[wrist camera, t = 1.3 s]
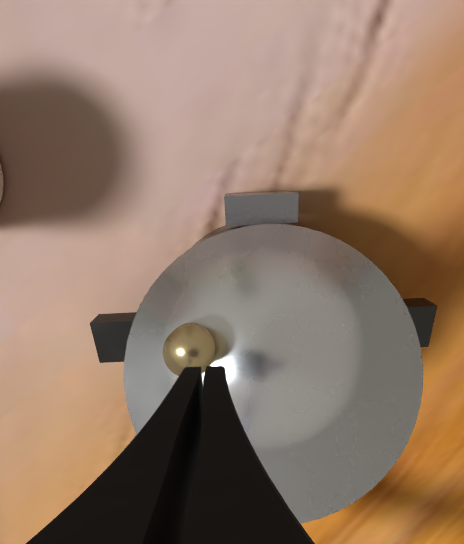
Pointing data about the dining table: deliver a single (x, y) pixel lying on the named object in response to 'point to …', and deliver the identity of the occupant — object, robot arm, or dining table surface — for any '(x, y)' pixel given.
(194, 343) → the cooker lid
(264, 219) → the cooker pot
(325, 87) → the dining table surface
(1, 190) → the teacup with lid
